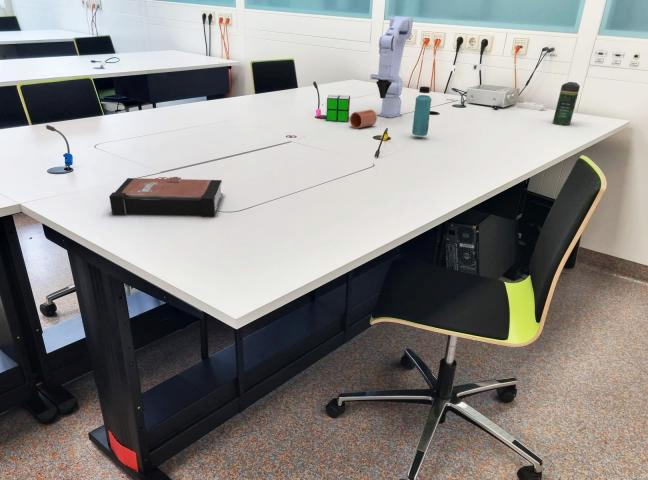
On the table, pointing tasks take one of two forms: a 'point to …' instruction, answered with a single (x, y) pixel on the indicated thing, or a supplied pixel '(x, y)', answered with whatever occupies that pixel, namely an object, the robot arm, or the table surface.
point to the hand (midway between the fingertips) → (382, 98)
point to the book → (167, 197)
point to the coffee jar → (566, 103)
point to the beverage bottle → (422, 113)
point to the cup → (363, 119)
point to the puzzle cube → (338, 108)
